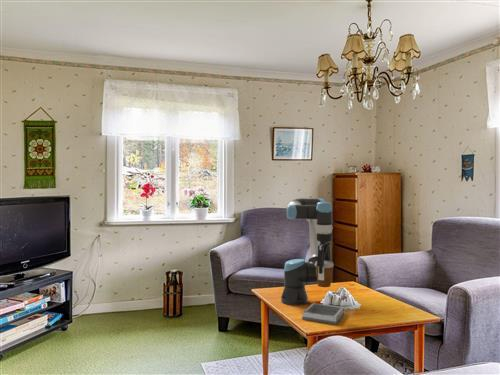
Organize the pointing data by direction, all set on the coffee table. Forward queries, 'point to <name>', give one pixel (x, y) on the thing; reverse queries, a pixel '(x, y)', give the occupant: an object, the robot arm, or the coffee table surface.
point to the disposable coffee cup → (325, 274)
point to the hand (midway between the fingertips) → (324, 277)
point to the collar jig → (323, 313)
